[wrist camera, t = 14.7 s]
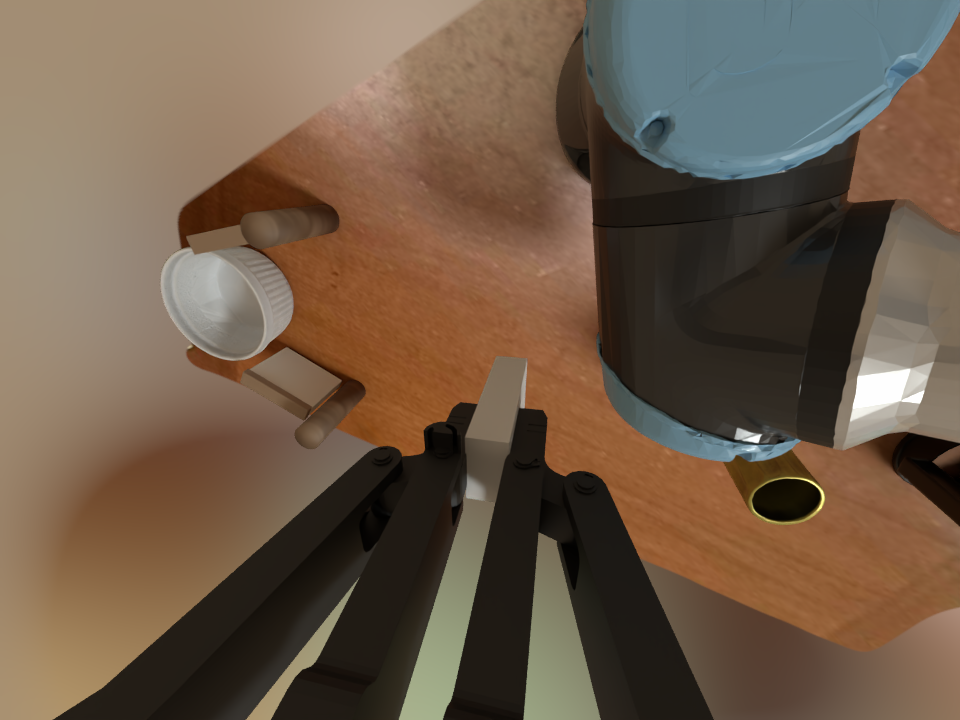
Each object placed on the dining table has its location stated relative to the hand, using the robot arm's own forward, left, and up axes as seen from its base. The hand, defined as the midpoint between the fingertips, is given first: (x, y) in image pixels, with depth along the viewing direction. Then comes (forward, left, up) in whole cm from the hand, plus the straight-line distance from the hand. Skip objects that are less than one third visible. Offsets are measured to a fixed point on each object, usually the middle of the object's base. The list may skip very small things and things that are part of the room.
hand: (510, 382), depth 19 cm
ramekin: (+4, -36, -25) cm, 44 cm away
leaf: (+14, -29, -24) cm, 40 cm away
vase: (+14, +21, -25) cm, 35 cm away
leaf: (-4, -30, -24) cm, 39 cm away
